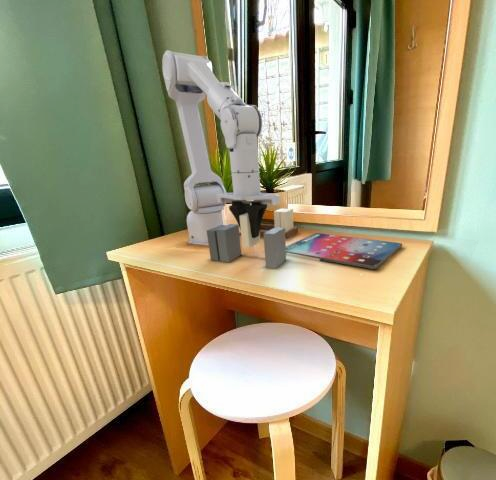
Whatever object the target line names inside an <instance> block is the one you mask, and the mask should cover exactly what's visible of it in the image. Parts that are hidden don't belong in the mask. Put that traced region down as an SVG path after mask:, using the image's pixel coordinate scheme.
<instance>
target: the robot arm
mask: <svg viewBox="0 0 496 480" xmlns="http://www.w3.org/2000/svg"><path fill="white" fill-rule="evenodd" d="M161 68H162V75H163V79H164V80H163V81H164V83H165V88H166V91H167V94H168V97H169V98H170V99H171V100H172V101H174V102H175V105H176V109H177V113H178V117H179V123H180V126H181V130H182V134H183V139H184V144H185V148H186V152H187V153H186V154H187V156H188V161H189V165H190V170H191V174H190V175H189V176H188V177H187V178H186V179H185V181H184V182H183V189H184V190H183V191H184V200H185V204H186V206H187V208H188V209H189V210H190V211H189V212H188V214H187V215H186V226H187V233H188V239H189V241H188V244H195V245H205V246H209V244H208V237H207V230H209V229H212V228H214V227H217V226H220V225H224V218H223V210H224V209H225V208H224V207H226V205H227V203H228V204H231V205H229V206H228V209H229V211H230V212H231V214H232V216H233V217H234V219H235V220H236V223H237V225H239V231H241V228H240V217H239V216H240V215H243V214H245V213H248V216H249V221H250V228H251V235H252V238H256V237H258V236H259V231H260V226H261V224H262V221H263V217H264V215H265V212H266V211H267V208H268V205H272V206H278V205H280V204H281V194H280V193H268V192H261V179H260V164H259V163H260V162H259V149H258V137H260V136H261V132H262V128H263V118H262V113H261V111H260V109H259V108H258V106H257V105H255V104H246V103H245V102H244V101H243V99H242V98H241V97H240V96H239V95H238V93H236V91H234V89H233V88H232V85H231V84H230V82H227V81H219V80H218V78H217V76H216V75H215V74H214V72H213V64H212V61H211V60H209V57H208V56H206V55H196V54H190V53H183V52H176V51H172V50H169V49H167V50H165V52H164V53H163V55H162V67H161ZM205 99H206V102H207V104H208V106H209V107H210V109H211V110H212V111H213V113H214V114H215V115H216V116H217V118H218V119H219V121H220V129H221V132H222V134H223V137H224V140H225V142H224V143H225V146H226V148H227V149H228V154H229V163H230V172H231V183H232V192H227V190H226V188H225V186H224V183H223V180H222V177H220V176H219V175H217V174H216V173H215V172H213V171H212V168H211V164H210V157H209V154H208V149H207V144H206V139H205V134H204V130H203V125H202V121H201V116H200V112H199V106H198V105H199V103H200V102H202V101H204V100H205Z"/></svg>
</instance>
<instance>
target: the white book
mask: <svg viewBox="0 0 496 480" xmlns="http://www.w3.org/2000/svg"><path fill="white" fill-rule="evenodd" d="M239 217H240V227H239V229H240V228H241V230H240V239H241V248H244V249H250V248H252V247H254V246H256V245H257V244H259V243H261V236H260V231H259V236H258V237H256V238H252V235H251V228H250V221H249V216H248V213H245V214H243V215H240V216H239Z"/></svg>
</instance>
